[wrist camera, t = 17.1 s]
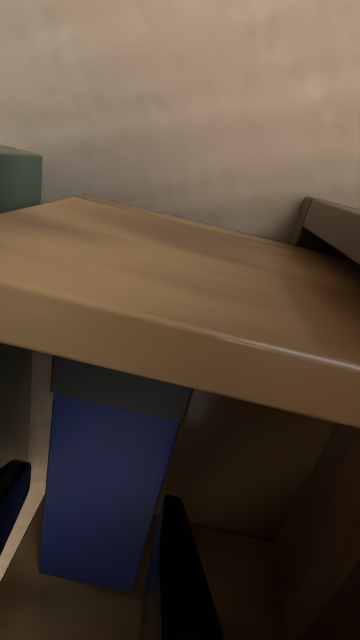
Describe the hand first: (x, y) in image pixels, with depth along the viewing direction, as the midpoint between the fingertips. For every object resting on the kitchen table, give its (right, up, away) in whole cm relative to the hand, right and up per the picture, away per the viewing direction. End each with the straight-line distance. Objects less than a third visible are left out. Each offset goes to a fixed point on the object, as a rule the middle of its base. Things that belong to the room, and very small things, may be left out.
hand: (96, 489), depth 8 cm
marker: (0, +1, +3) cm, 4 cm away
